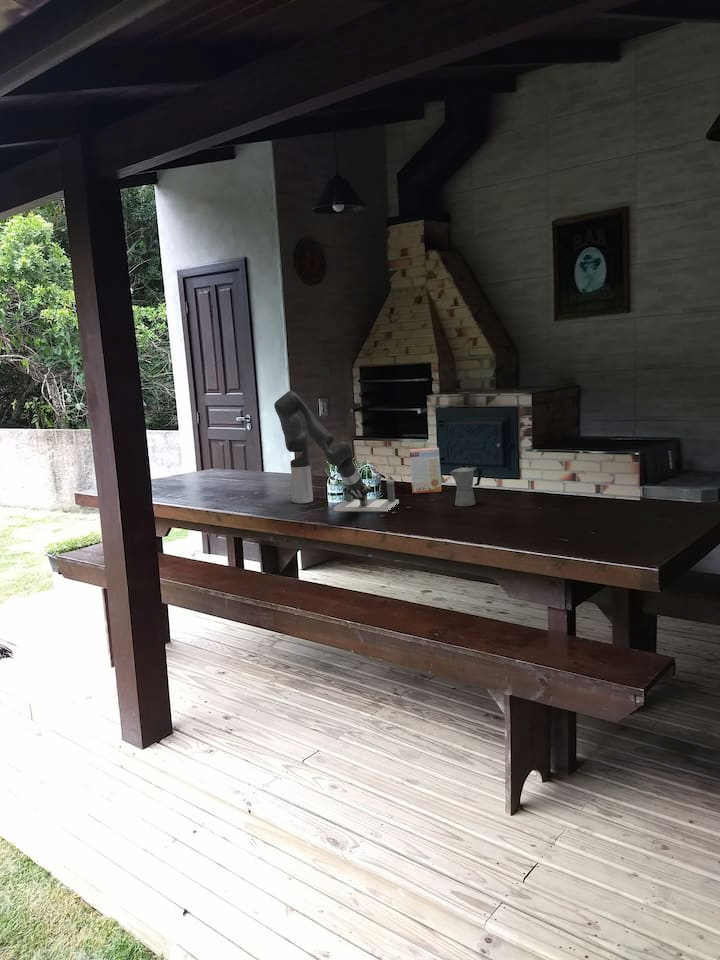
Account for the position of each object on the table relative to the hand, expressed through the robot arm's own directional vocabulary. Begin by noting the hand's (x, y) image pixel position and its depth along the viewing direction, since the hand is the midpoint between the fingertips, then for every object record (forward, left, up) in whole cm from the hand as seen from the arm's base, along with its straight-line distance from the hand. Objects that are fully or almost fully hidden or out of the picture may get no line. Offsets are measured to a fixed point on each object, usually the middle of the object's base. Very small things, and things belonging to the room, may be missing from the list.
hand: (362, 499), depth 327 cm
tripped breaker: (0, +2, -3) cm, 3 cm away
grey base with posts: (0, +6, -5) cm, 7 cm away
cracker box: (+19, +40, -5) cm, 44 cm away
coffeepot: (+44, +13, -5) cm, 46 cm away
